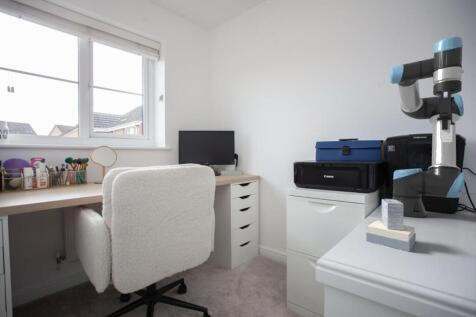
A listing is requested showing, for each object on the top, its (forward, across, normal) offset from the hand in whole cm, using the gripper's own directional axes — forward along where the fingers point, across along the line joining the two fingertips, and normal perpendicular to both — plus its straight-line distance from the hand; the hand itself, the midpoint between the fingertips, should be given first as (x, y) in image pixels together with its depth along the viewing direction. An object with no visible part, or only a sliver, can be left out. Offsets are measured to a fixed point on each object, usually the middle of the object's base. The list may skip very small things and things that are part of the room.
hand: (446, 141), depth 80 cm
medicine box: (+30, -21, +12) cm, 38 cm away
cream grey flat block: (+35, -21, +12) cm, 42 cm away
